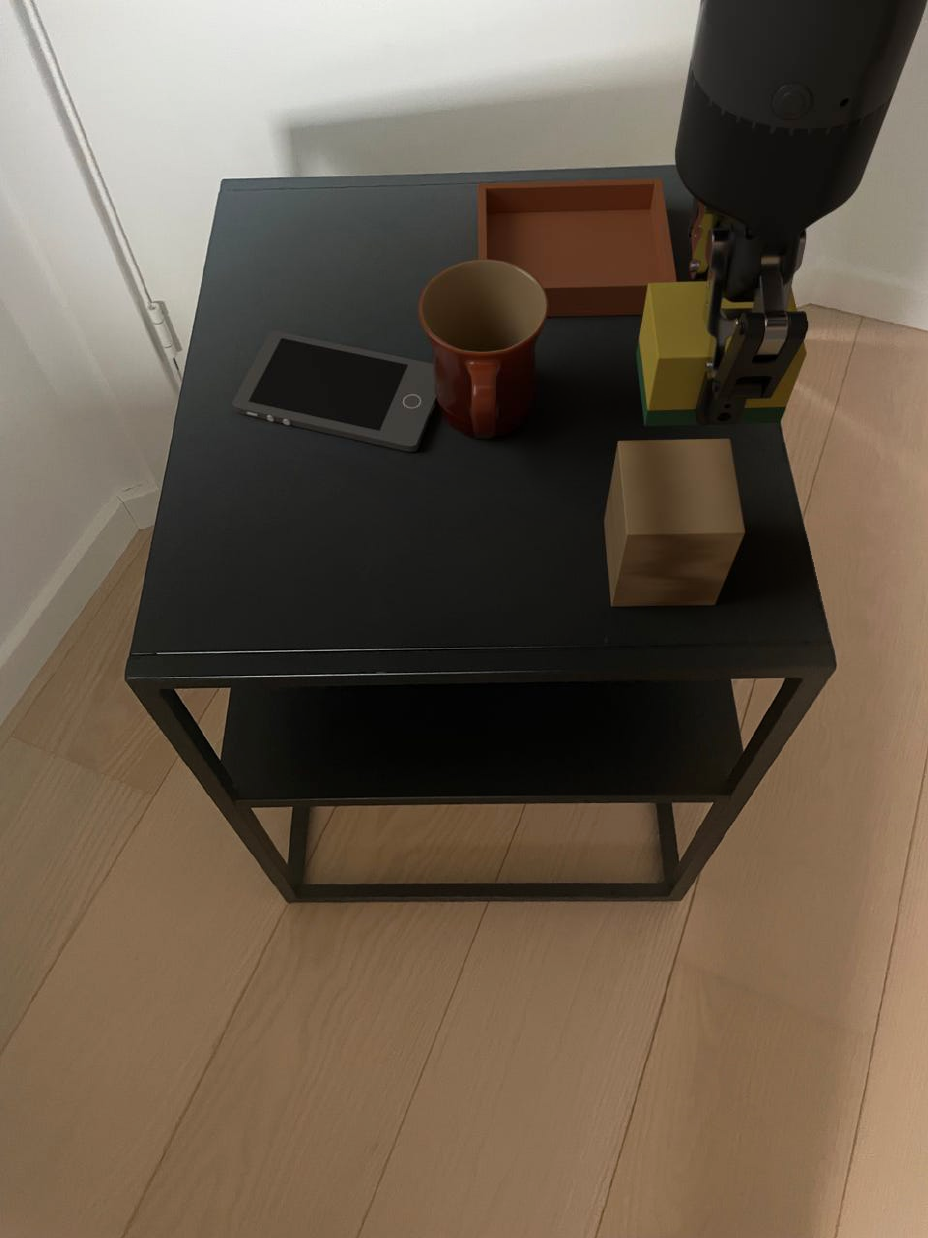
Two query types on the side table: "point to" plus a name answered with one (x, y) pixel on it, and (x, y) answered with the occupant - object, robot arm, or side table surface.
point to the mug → (484, 343)
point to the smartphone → (339, 391)
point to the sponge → (691, 358)
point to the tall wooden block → (671, 522)
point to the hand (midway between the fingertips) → (709, 376)
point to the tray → (581, 240)
